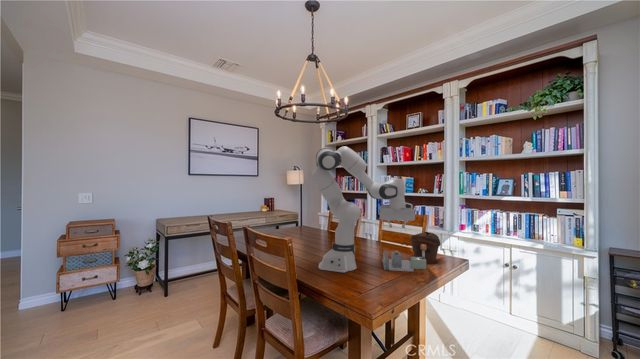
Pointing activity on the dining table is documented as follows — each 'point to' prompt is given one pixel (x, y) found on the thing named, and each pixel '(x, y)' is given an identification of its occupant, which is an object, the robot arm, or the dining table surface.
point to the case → (431, 245)
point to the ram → (423, 248)
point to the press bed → (389, 266)
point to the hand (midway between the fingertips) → (396, 227)
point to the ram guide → (418, 263)
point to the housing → (396, 258)
